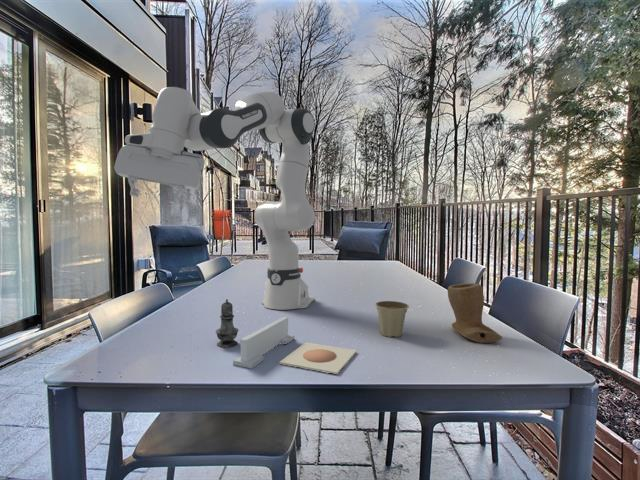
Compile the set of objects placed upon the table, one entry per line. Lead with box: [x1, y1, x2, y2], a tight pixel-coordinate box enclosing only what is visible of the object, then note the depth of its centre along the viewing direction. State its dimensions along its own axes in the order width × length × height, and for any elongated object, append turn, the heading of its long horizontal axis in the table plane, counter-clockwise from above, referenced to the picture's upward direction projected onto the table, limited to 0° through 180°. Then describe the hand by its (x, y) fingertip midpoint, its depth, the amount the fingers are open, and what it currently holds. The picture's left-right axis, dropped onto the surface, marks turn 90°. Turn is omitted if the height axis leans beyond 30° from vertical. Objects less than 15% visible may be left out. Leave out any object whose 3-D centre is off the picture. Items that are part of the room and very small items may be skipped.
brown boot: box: [447, 282, 503, 344], centre depth 104 cm, size 15×12×15 cm
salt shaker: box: [215, 298, 240, 349], centre depth 95 cm, size 6×6×12 cm
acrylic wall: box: [232, 316, 295, 370], centre depth 91 cm, size 21×5×6 cm, turn 157°
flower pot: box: [375, 300, 409, 338], centre depth 105 cm, size 9×9×9 cm
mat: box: [279, 341, 357, 375], centre depth 87 cm, size 14×14×1 cm
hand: (153, 199), depth 91 cm, fingers open, 8 cm apart
